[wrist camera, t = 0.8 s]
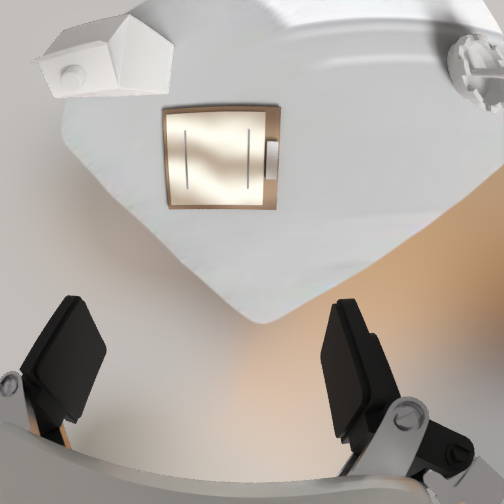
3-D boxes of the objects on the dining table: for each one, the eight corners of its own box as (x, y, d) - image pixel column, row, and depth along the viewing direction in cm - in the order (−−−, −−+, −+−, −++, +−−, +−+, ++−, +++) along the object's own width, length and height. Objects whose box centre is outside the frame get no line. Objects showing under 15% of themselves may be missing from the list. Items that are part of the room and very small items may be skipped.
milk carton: (126, 49, 26) (37, 24, 10) (175, 45, 27) (108, -1, 10) (121, 96, 30) (26, 102, 13) (169, 94, 30) (94, 87, 14)
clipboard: (164, 109, 31) (161, 110, 30) (280, 107, 31) (281, 107, 30) (169, 207, 38) (167, 211, 37) (275, 208, 38) (276, 211, 37)
